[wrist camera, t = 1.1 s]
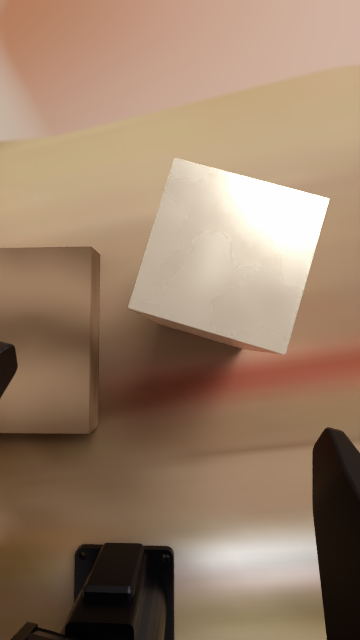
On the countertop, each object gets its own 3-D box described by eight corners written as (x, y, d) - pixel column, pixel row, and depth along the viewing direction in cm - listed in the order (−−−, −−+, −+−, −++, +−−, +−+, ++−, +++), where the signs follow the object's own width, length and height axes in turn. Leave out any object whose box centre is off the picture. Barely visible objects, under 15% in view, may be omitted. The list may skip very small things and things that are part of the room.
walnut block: (98, 425, 23) (88, 433, 21) (-70, 424, 24) (-95, 432, 22) (100, 254, 24) (91, 246, 22) (-63, 257, 24) (-86, 249, 22)
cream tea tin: (242, 348, 23) (285, 354, 12) (159, 324, 23) (127, 307, 12) (266, 266, 23) (329, 198, 12) (184, 243, 24) (174, 157, 13)
